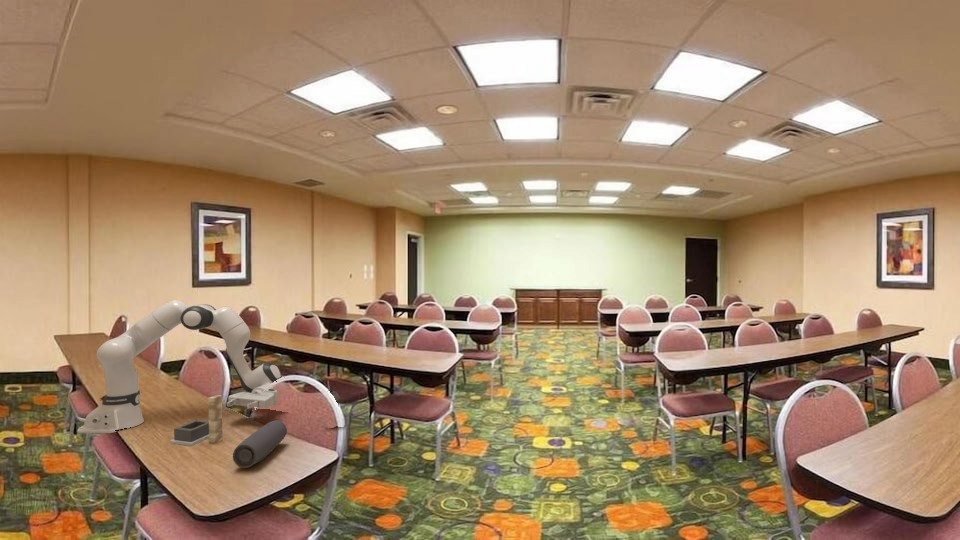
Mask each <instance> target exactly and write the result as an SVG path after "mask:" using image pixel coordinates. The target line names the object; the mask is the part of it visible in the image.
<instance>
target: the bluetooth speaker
mask: <svg viewBox="0 0 960 540" xmlns="http://www.w3.org/2000/svg"><path fill="white" fill-rule="evenodd" d="M287 433H288V429H287V426H286V424H285V423H284V422H283V421H282V420H277V419H276V420H272V421H270V422H268V423H266V424H264V425H263V426H261V427H260V428H258V429H257V430H256V431H254V432H253V433H251V434H250V435H249V436H247V438H245V439H244V440H242V441H241V442H240V443H239V444H238V445H237V447H235V448H234V450H233V453H232V459H233V462H234V464H235V465H236V466H238V467H240V468H244V469H247V468H248V469H249V468H250V467H252V466H254V465H256V464H258V463H261V462H262V461H264V460H265V458H266V456H267V455H268V454H269V455H270V454H271V453H272V451H273V450H274V449H275V448H277V446H278V445H279V444H280V443H281V442H282V441H283V440H284V439H285V437H286V435H287ZM270 452H271V453H270ZM269 455H268V456H269ZM268 456H267V457H268Z"/></svg>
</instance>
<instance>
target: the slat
mask: <svg viewBox="0 0 960 540" xmlns="http://www.w3.org/2000/svg"><path fill="white" fill-rule="evenodd" d="M207 402H208V405H207V406H208V421H209V438H208V440H209V441H208V443H209V444H212V445H215V444H217V443H219V442H221V441H223V440H224V437H223V436H224V435H223V429H224V428H223V396H222V394H216V395H213V396H209V397H208V398H207Z"/></svg>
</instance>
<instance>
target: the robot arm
mask: <svg viewBox="0 0 960 540" xmlns="http://www.w3.org/2000/svg"><path fill="white" fill-rule="evenodd" d="M180 324H182V326H184V328H186V329H187V330H192V331H197V330H203V329H206V328H209V327H213V328H214V329H215V330H217V332H218V333H219V335H220V336H221V338H222V339H223V342H224V343H225V353H226V356H227V358H228V359H229V361H230V363H231V365H232V368H233V369H234V371H235V373H236V375H237V376H238V379H239V382H240V385H241V387H242V389H243V390H244V391H242V392H241V391H240V392H237V393H233V394H231V395H228V398H227V402H226V406H227V407H229V408H231V407H233V406H243V407H244V409H247V410H249V409H251V408H259V409H260V408H261V409H267V408H270V407H272V406H273V407H274V406H277V405H278V402H279V401H278V400H279V399H278V393H277V390H274V389H273V387H270V386H269V385H270V384H271V383H273V382H274V381H276V380H277V379H279V378H281V377H284V375H282V372H281V369H280V367H279V365H277V364H275V363H274V362H271V361H265V362H264V363H262V364H261V365H259V366H257V367H256V368H255V369H253V370H252V369H251V368H250V366H249V364H248V362H247V360H246V358H245V357H244V351H245V348H246V346H247V344H248V343H249V341H250V339H251V330H250V328H249V326H248V325H247V322H245V321H244V319H243V318H242V317H241V316H240V315H239V314H238V312H236V311H235V309H233V307H230V306H222V307H220V308H219V307H218V309H216V308H215V307H214V306H212V305H210V304H206V303H205V304H196V305H192V306H188V305H187V304H186V303H185V302H184V301H181V300H178V299H173V300H170V301H167V302H166V303H163V304H162V305H160V306H159V307H157V308H156V309H153V310H152V311H150V312H149V313H148V314H147V315H146V316H144V317H142V318H141V319H140V320H138V321H137V322H135V323H134V324H133V325H132V326H131V327H129V328H128V329H127V330H126V331H124V332H123V333H122V334H120V335H118V336H117V337H114V338H111V339H108V340H106V341H105V342H103V344H102V345H100V346H99V347H98V349H97V351H96V359H97V360H98V362H99V363H100V364H101V366H102V367H101V368H102V370H103V372H104V376H105V388H106V389H105V391H106V393H105V395H103V396H101V397H100V398H99V400H98V401H99V402H101V404H100V405H98V406H97V407H96V408H94V409H93V410H92V411H90V412H89V413H88V414H87V415H86V417H85V420H84V424H83V425H81V426H80V427H78V428H77V432H76V433H78V434H112V433H116V432H117V431H115V430H117V429H123V430H125V429H124V428H127V429H131V428H134V427H136V426H137V427H138V426H139V425H141V424H143V423H144V422H145V420H144V417H143V413H142V409H141V405H140V403H141V391H140V389H139V386H140V383H139V372H138V371H137V369H136V368H135V364H134V363H135V362H134V358H135V357H137V356H138V355H139V354H141V353H142V352H144V351H145V350H146V349H147V348H148V347H150V346H151V345H153V344H154V343H155V342H156V341H157V340H160V338H162V337H163V336H165V335H166V334H167V333H169V332H170V331H172V330H173V329H175V328H176V327H177V326H179V325H180ZM276 382H277V381H276ZM268 386H269V387H268ZM267 387H268V388H267ZM265 389H266V390H265ZM264 390H265V391H264ZM263 391H264V392H263ZM130 427H131V428H130Z"/></svg>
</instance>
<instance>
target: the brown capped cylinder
mask: <svg viewBox="0 0 960 540" xmlns="http://www.w3.org/2000/svg"><path fill="white" fill-rule="evenodd" d="M330 387H331V386H330V381H329V380H327V389H328V391H330V393H331V394H332V395H333V396H334V398H335V400H336V402H337V403H338V406H339V404H340V400H341V399H340V396H339V395H340V394H339V393H337V391H334V390H331V389H330Z"/></svg>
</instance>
